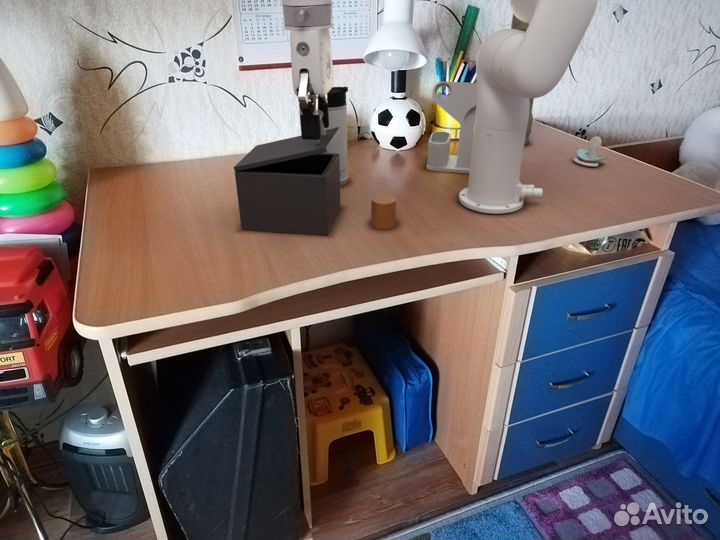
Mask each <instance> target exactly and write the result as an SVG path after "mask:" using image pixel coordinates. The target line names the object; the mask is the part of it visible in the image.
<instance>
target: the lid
mask: <svg viewBox="0 0 720 540" xmlns="http://www.w3.org/2000/svg"><path fill="white" fill-rule="evenodd" d="M317 115H320V127H321V138H320V140H303V139H302V137H301V135H296V136H292V137H287V138H284V139H283V138H282V139H280V140H275V141H270V142H265V143H260V144H256V145H255V146H254V147H253V148H252V149H251V150H250V151H248V153H247V154H245V156H243V158H242V159H241V160H239V161H238V162H237V163H236V164H235V165H234V166H233V170H234V173H235V172H236V171H240V170H245V169H250V168H255V167H259V166H264V165H269V164H274V163H278V162H283V161H288V160H292V159H297V158H302V157H307V156H311V155H316V154H321V153H326V152H327V151H328V150H329V148H330V147H331V145H332V144H333V142H334V141H335V139H336V138H337V136H338V135H339V133H340V132H341V130H340V127H337V128H333V129H328V130H325V128H324V124H323V121H322V117H323V112H322V111H321V110H318V114H317Z"/></svg>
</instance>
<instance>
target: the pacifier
mask: <svg viewBox="0 0 720 540" xmlns="http://www.w3.org/2000/svg"><path fill="white" fill-rule="evenodd" d="M601 147H602V139H601V137H600V136H597V135H596V136H593V137H592V138H591V139H590V140H589V142H588V149H589V150H587V149H585V148H579V149H578V150H577V152H576V154H577V156H576V157H574V158H573V162H574V163H576V164H578V165H582V166H586V167H591V168H594V167H598V166H599V165H600V164H599V162H601V161H605V160H607V159H608V158H609V156H606V157H605V156H604V157H603V156H602V157H597V156H598V152H599V149H600V148H601Z"/></svg>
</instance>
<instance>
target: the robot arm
mask: <svg viewBox="0 0 720 540" xmlns="http://www.w3.org/2000/svg"><path fill="white" fill-rule="evenodd" d="M281 3H282V14H283V15H282V16H283V24H284V25H283V27H284V28H283V29H284V30H286V31H289V34H290V37H289V39H290V42H289V43H290V44H289V45H290V62H291V79H292V87H293V93H294V95H295V96H296V97H297V101H298V107H299V109H298V110H299V111H298V112H299V123H300V136H301V137H302V139H303V140H320V138H321V127H320V115H317V114H318V110H321V111H322V112H323V117H322V121H323V124H324V128H328V127H329V115H328V104H327V93H328V92H329V91H330V90H331V88H332V87H334V86H335V85H334V84H335V77H334V76H335V75H334V66H333V54H332V44H331V36H330V35H331V34H330V29H332V28H333V27H334V24H333V23H334V22H333V4H332V3H333V0H281ZM598 3H599V0H510V1H509V5H510V9H511V12H512V15H513V14H514V15H515V16H516V17H517V18H518V19H519V20H521V21H523V22H526V23H529V26H528V28H527V30H526V31H522V30H517V29H511V28H502V29H499V30H496V31H494V32H492V33H491V34H490V35H488V36H487V37H486V38H485V39H484V40H483V42H482V43H481V45H480V47H479V49H478V51H477V56H476V63H475V76H476V83H477V105H476V116H475V124H474V134H473V143H472V153H471V162H470V172H469V173H468V181H467V182H468V183H467V187H465V188H463V189H461V190H460V192H459V194H458V201H459V203H460V204H461V205H462V206H463V207H465V208H467V209H468V210H472V211H473V212H474V211H475V212H478V213H482V214H490V215H500V214H504V215H505V214H510V213H515V212H517V211H519V210H521V209H522V208H523V206H524V202H525V198H532V199H542V197H543V192H544V190H543V188H541V187H535V184H523V183H522V182H521V180H520V174H521V168H522V162H523V155H524V149H525V148H524V147H525V145H524V143H525V136H526V130H527V125H528V118H529V98H534V99H538V98H541V97H544V96H546V95H547V94H549V93H550V92H552V91H553V90H554V89H555V88H556V87H557V85H559V83H560V81H561V80H562V78H563V76H564V75H565V73H566V72H567V70H568V69H569V68H568V67H569V66H570V64H571V61H572V60H573V58H574V56H575V54H576V52H577V50H578V48H579V46H580V44H581V42H582V40H583V38H584V36H585V34H586V32H587V30H588V28H589V26H590V24H591V22H592V20H593V18H594V15H595V13H596V11H597V7H598Z"/></svg>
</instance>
